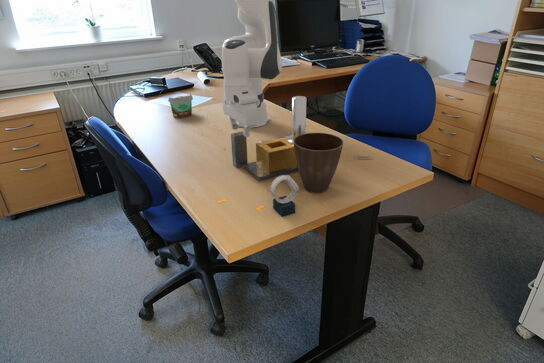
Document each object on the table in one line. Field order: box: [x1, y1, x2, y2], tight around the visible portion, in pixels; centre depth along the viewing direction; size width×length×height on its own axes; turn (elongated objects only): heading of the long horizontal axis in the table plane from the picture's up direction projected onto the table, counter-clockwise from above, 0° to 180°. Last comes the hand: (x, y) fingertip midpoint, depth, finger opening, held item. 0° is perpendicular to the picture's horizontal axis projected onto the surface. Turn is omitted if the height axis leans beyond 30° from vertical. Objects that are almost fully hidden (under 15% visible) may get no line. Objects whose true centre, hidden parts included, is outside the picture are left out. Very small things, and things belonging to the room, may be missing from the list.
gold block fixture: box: [243, 95, 307, 182], centre depth 136 cm, size 17×24×24 cm
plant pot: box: [294, 132, 344, 194], centre depth 122 cm, size 15×15×16 cm
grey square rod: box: [230, 130, 249, 169], centre depth 139 cm, size 3×4×12 cm, turn 119°
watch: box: [269, 174, 300, 218], centre depth 111 cm, size 6×8×11 cm
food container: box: [167, 93, 194, 119], centre depth 191 cm, size 12×6×10 cm, turn 126°
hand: (240, 132), depth 135 cm, fingers open, 8 cm apart
